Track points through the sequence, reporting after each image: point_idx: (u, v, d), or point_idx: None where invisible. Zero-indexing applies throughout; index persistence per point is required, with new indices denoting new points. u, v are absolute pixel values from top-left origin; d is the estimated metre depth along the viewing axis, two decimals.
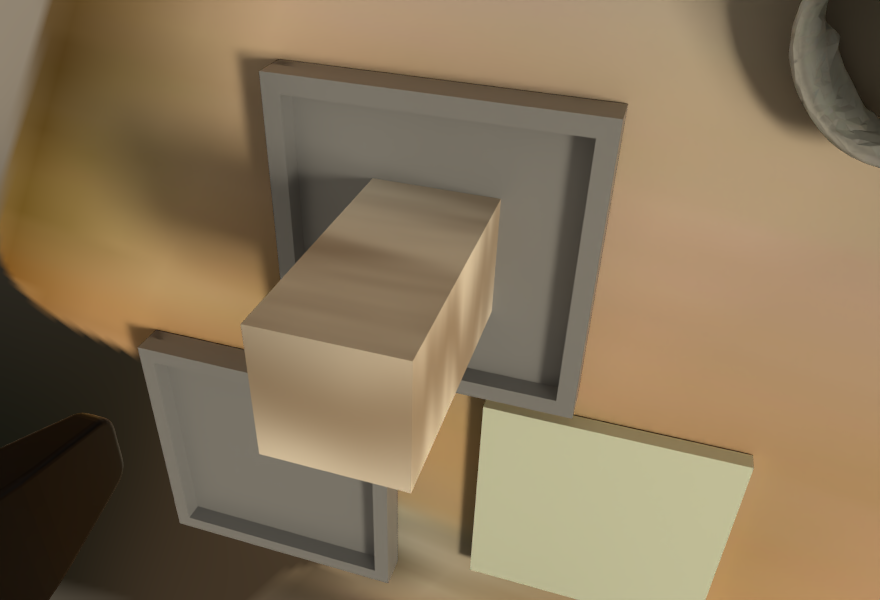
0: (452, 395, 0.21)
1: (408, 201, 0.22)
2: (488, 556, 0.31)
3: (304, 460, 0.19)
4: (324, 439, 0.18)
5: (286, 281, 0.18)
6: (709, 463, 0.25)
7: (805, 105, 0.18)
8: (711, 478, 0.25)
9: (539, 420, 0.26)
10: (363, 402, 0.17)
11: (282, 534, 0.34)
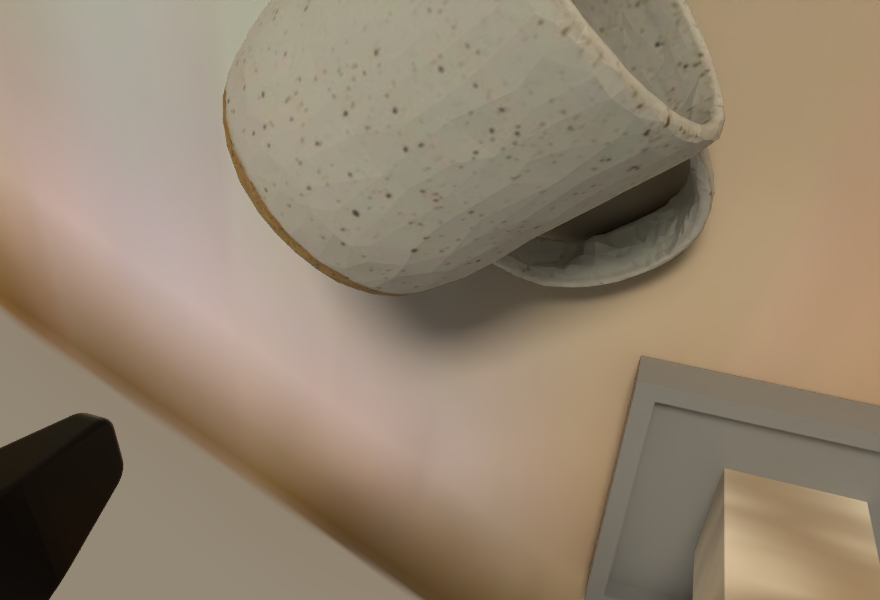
0: None
1: (704, 549, 0.24)
2: None
3: None
4: None
5: None
6: None
7: (644, 272, 0.20)
8: None
9: None
10: None
11: None
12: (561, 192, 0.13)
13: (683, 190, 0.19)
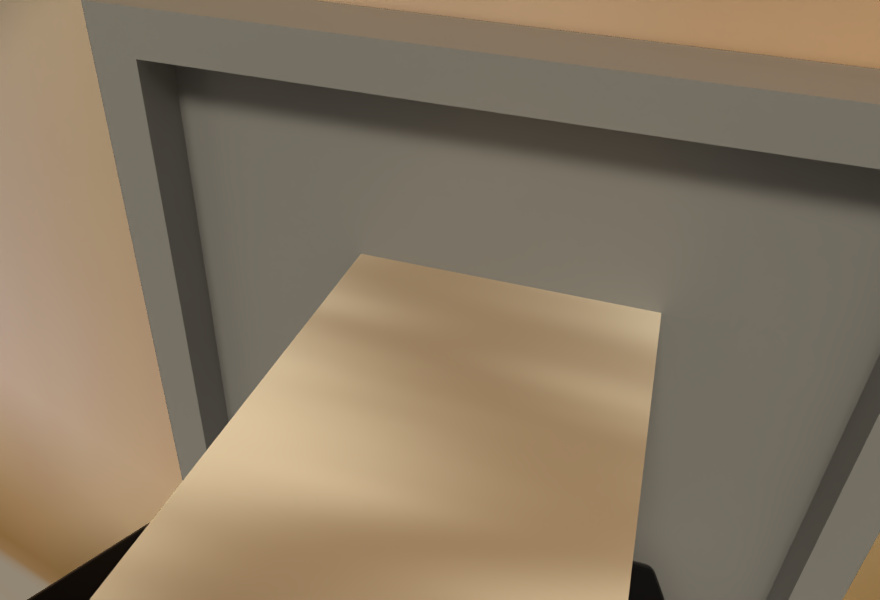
0: None
1: None
2: None
3: None
4: None
5: None
6: None
7: None
8: None
9: None
10: None
11: None
12: None
13: None
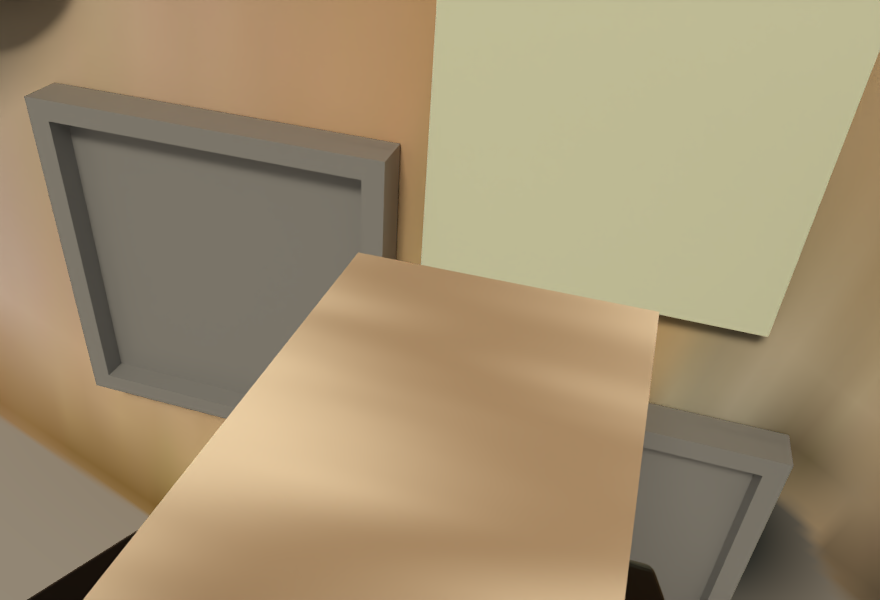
0: None
1: None
2: (729, 303, 0.19)
3: None
4: None
5: None
6: None
7: None
8: None
9: (426, 200, 0.20)
10: None
11: (716, 567, 0.24)
12: None
13: None
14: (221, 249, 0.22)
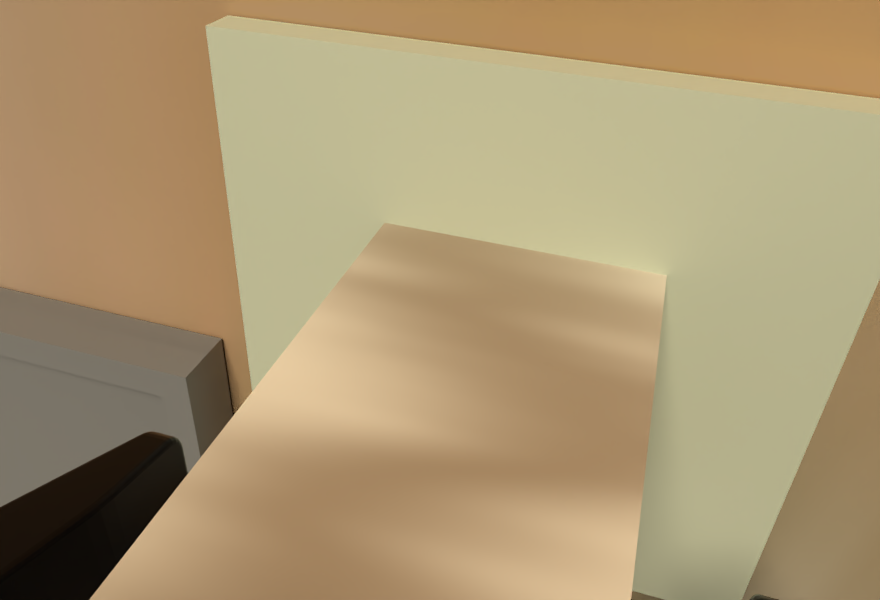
0: (618, 531, 0.07)
1: None
2: (676, 574, 0.13)
3: None
4: None
5: None
6: (230, 123, 0.11)
7: None
8: (270, 115, 0.11)
9: None
10: None
11: None
12: None
13: None
14: (25, 446, 0.17)
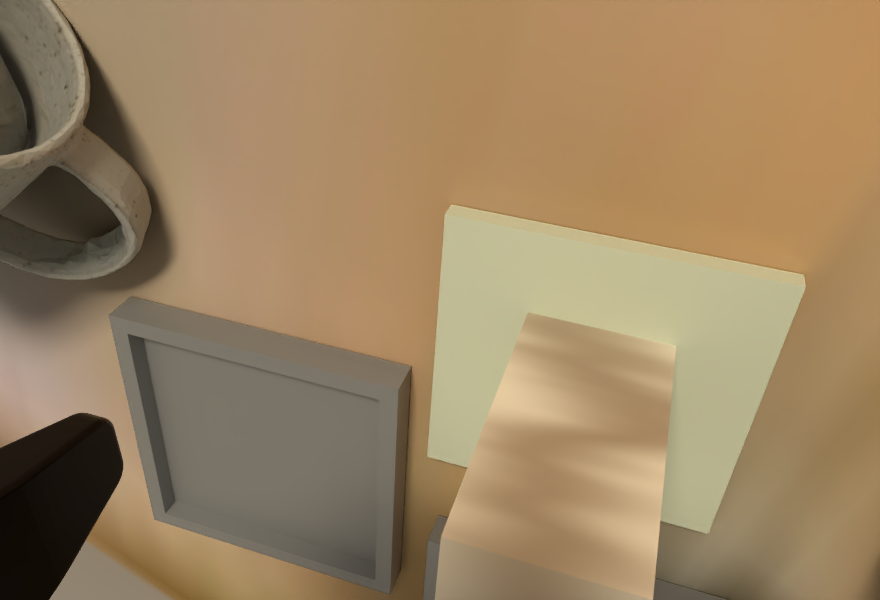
0: (657, 462, 0.17)
1: None
2: (675, 507, 0.23)
3: None
4: None
5: None
6: (449, 259, 0.21)
7: (118, 268, 0.24)
8: (472, 257, 0.21)
9: (431, 412, 0.24)
10: (508, 595, 0.15)
11: None
12: None
13: None
14: (263, 428, 0.27)
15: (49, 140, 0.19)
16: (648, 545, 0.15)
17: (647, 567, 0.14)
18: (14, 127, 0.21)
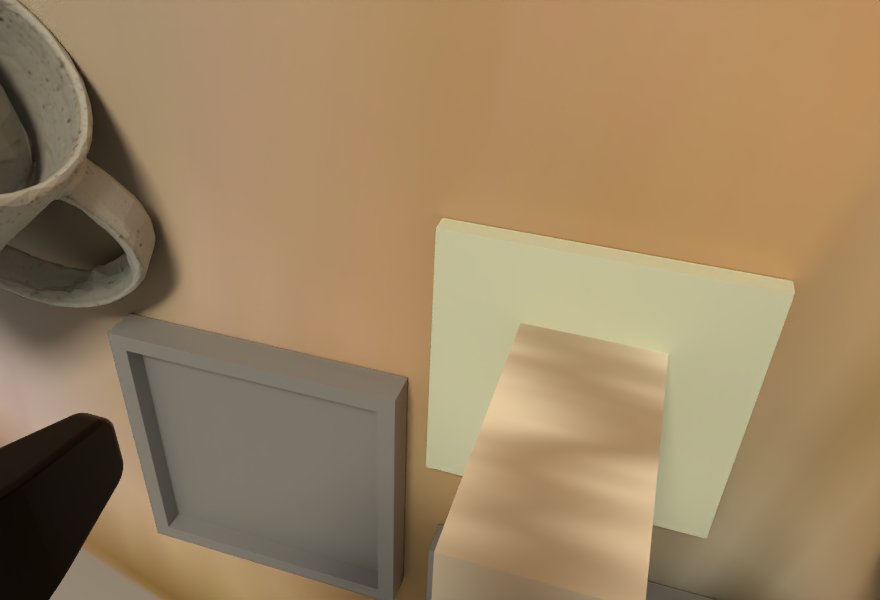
0: (649, 472, 0.17)
1: None
2: (673, 513, 0.23)
3: None
4: None
5: None
6: (441, 271, 0.21)
7: (123, 296, 0.24)
8: (464, 269, 0.21)
9: (428, 423, 0.24)
10: None
11: None
12: None
13: None
14: (263, 441, 0.27)
15: (53, 176, 0.19)
16: (640, 556, 0.15)
17: (639, 578, 0.14)
18: (19, 161, 0.21)
